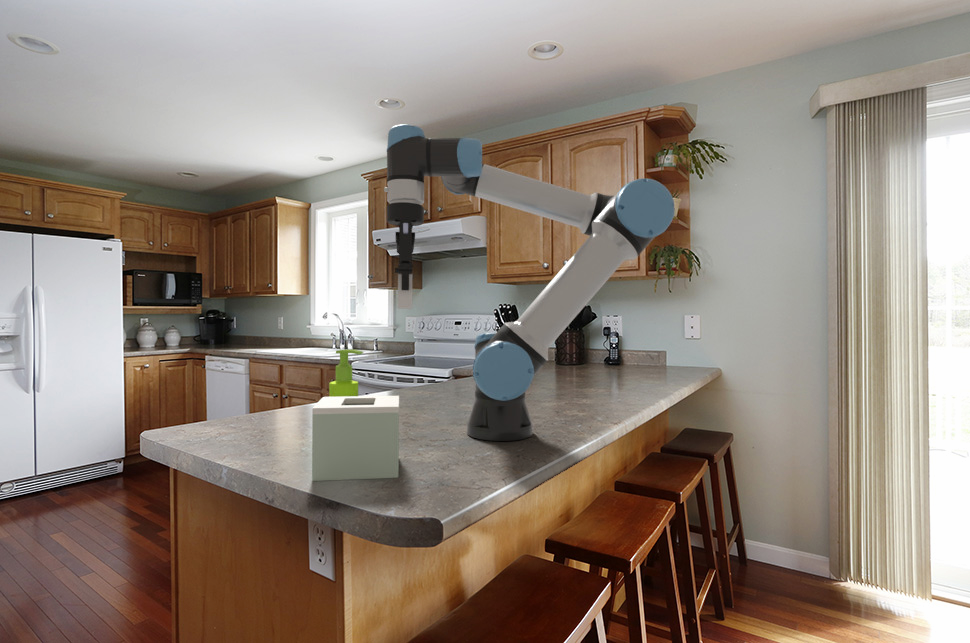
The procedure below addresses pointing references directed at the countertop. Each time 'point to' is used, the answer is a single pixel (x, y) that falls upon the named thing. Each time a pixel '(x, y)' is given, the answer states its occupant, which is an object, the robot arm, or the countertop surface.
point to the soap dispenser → (344, 377)
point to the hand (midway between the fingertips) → (404, 308)
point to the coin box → (355, 438)
